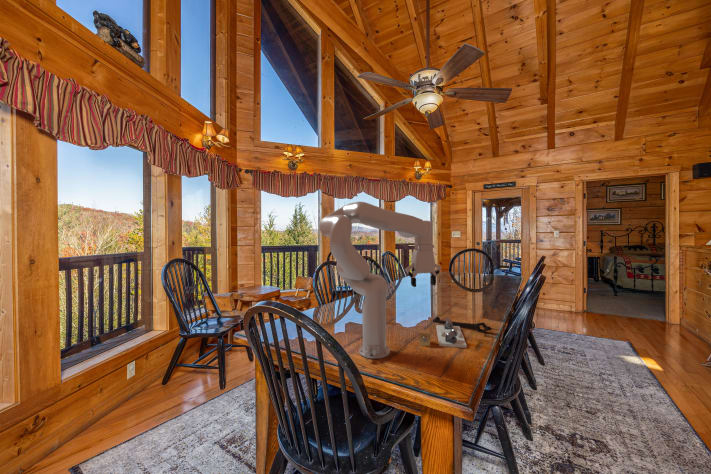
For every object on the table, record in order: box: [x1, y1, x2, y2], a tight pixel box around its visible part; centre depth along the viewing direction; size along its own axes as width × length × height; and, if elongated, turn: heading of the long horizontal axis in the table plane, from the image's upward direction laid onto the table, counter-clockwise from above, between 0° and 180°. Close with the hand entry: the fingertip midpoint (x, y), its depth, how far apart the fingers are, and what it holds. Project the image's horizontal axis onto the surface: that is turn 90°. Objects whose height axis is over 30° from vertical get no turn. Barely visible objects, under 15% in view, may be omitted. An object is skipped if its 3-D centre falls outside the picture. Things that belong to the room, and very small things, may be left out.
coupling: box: [418, 328, 431, 347], centre depth 125 cm, size 7×4×6 cm, turn 167°
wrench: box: [432, 316, 492, 334], centre depth 147 cm, size 5×5×30 cm
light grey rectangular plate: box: [435, 324, 467, 349], centre depth 133 cm, size 24×11×2 cm, turn 167°
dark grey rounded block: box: [445, 329, 458, 344], centre depth 124 cm, size 6×4×5 cm, turn 137°
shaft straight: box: [443, 317, 453, 329], centre depth 141 cm, size 8×4×5 cm, turn 167°
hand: (423, 285), depth 130 cm, fingers open, 9 cm apart
